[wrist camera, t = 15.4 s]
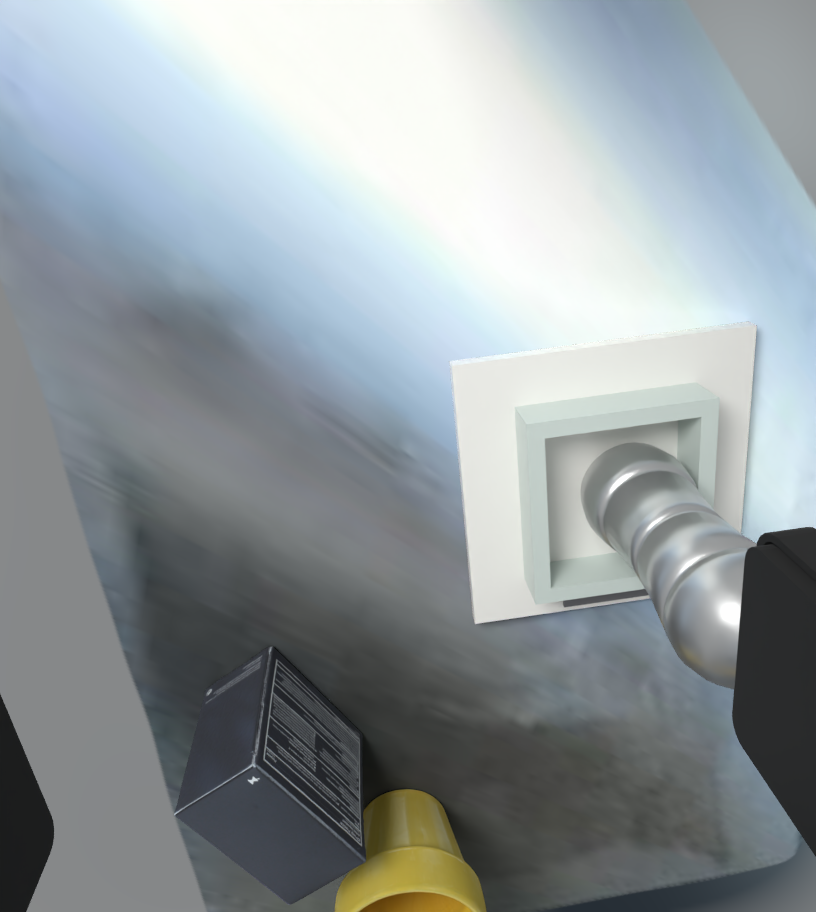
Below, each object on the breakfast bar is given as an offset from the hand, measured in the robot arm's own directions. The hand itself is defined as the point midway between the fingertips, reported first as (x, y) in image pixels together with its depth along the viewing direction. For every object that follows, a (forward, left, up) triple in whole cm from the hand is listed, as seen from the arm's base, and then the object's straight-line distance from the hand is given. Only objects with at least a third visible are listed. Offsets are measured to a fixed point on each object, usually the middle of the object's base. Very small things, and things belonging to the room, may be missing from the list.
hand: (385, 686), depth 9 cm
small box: (+30, -9, -35) cm, 47 cm away
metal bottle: (+15, +15, -34) cm, 40 cm away
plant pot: (+42, -2, -34) cm, 54 cm away
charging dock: (+15, +14, -34) cm, 40 cm away
